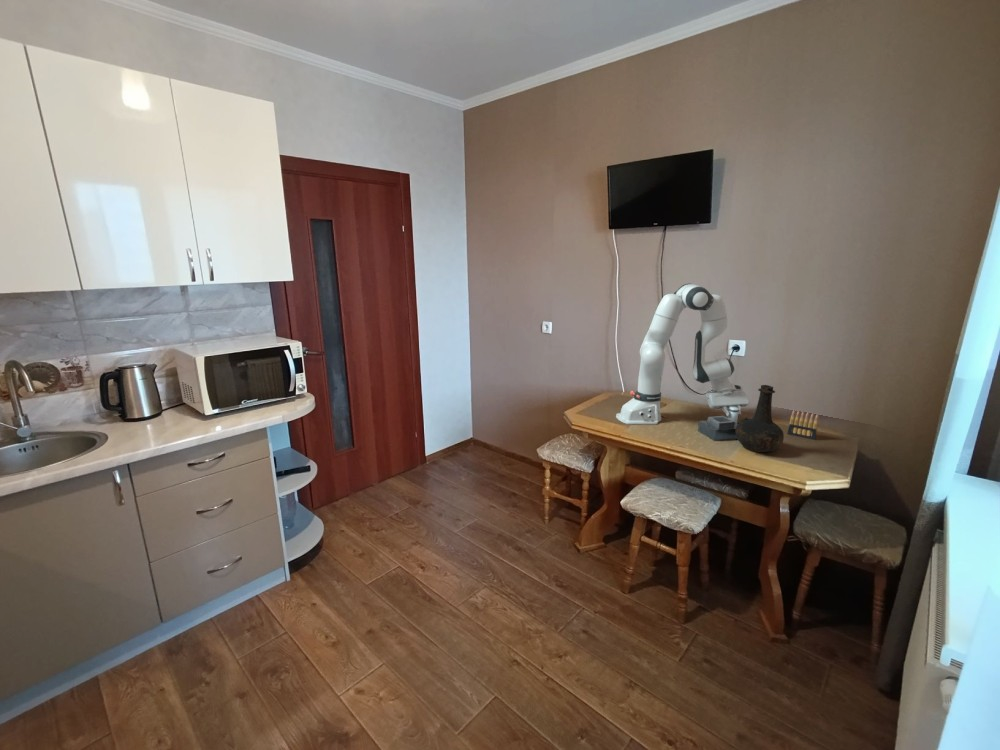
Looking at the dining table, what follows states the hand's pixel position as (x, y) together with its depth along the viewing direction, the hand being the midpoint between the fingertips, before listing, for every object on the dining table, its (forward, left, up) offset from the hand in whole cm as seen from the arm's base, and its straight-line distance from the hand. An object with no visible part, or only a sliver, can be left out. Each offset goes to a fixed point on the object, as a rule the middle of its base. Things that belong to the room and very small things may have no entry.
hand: (734, 415), depth 212 cm
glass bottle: (-8, -26, -6) cm, 27 cm away
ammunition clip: (+21, -18, -6) cm, 28 cm away
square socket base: (-14, -9, -5) cm, 18 cm away
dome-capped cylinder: (0, +1, -5) cm, 5 cm away
